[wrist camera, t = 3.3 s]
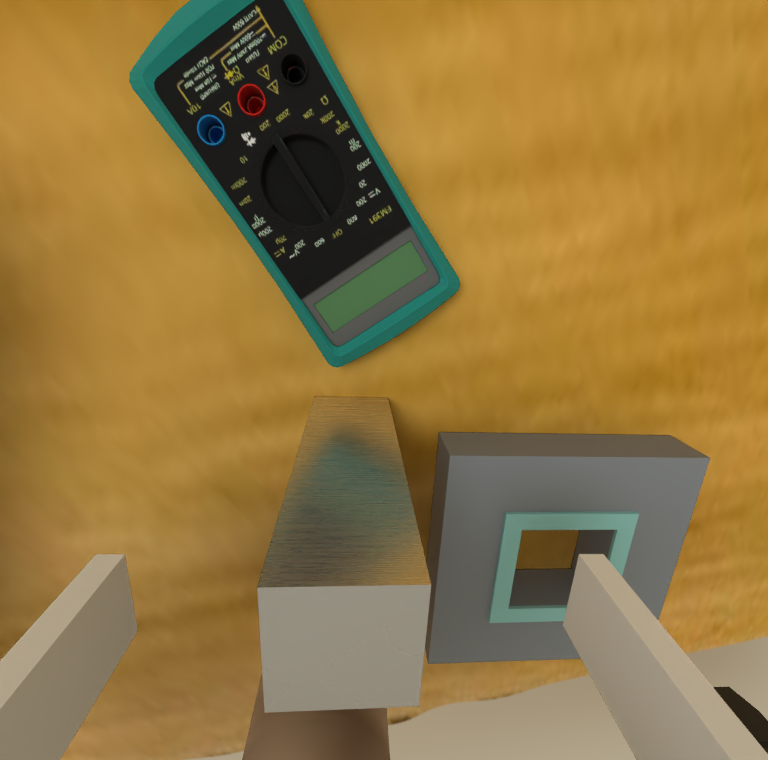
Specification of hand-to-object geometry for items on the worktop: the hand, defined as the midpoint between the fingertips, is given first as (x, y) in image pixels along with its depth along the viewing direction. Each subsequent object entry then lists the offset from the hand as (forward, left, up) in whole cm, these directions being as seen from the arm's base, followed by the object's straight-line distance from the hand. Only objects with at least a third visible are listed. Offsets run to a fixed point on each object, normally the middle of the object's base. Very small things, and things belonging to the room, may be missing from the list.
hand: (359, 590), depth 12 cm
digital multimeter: (-2, +12, -12) cm, 17 cm away
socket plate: (+12, -7, -11) cm, 17 cm away
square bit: (0, 0, -11) cm, 11 cm away
